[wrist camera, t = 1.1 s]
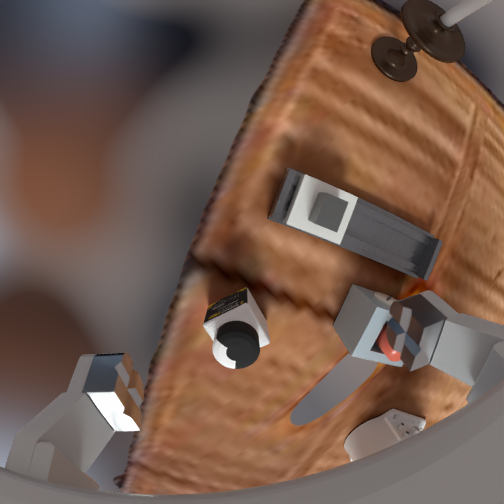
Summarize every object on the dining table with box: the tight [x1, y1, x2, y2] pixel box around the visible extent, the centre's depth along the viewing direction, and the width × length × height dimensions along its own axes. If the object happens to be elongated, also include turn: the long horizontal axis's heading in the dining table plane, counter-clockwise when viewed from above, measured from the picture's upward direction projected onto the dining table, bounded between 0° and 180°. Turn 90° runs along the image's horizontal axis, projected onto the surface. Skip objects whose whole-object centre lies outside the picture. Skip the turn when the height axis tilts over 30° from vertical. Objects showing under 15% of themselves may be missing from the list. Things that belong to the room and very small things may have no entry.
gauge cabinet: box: [333, 284, 404, 367], centre depth 43 cm, size 10×9×10 cm
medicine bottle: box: [203, 287, 270, 369], centre depth 41 cm, size 7×7×12 cm
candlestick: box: [371, 0, 493, 82], centre depth 21 cm, size 11×11×35 cm
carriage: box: [283, 174, 358, 245], centre depth 38 cm, size 8×7×7 cm
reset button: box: [375, 324, 401, 362], centre depth 37 cm, size 4×4×4 cm
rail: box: [268, 167, 443, 281], centre depth 42 cm, size 28×8×4 cm, turn 70°
